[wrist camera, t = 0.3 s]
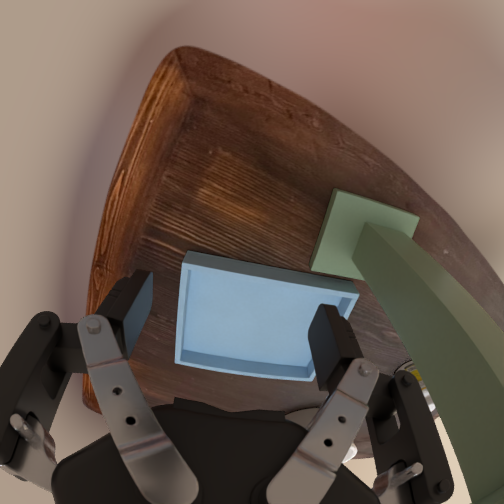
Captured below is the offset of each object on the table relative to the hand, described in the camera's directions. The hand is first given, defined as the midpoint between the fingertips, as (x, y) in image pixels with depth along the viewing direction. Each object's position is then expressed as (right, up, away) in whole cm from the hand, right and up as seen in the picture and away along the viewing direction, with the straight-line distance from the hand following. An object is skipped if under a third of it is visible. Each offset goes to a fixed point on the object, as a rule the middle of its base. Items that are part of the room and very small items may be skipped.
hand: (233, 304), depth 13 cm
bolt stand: (+15, +4, +19) cm, 25 cm away
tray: (+2, -7, +25) cm, 26 cm away
